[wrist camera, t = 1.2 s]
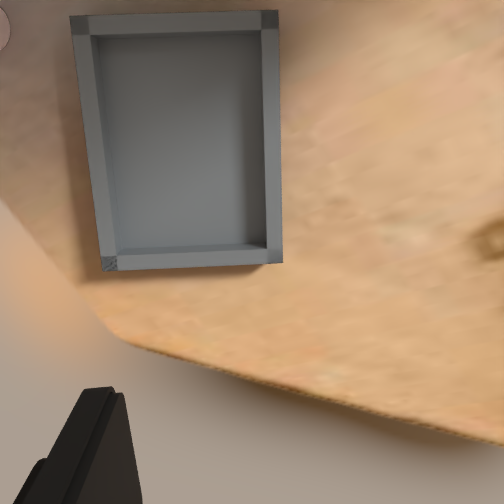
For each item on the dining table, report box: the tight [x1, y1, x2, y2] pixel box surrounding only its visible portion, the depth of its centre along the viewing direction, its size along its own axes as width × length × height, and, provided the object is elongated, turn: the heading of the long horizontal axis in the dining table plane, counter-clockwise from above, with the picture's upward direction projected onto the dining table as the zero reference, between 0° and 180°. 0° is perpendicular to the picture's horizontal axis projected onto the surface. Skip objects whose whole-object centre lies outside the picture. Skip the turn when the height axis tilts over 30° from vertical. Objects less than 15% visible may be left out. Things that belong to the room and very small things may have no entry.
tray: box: [69, 10, 283, 271], centre depth 36 cm, size 18×14×3 cm
